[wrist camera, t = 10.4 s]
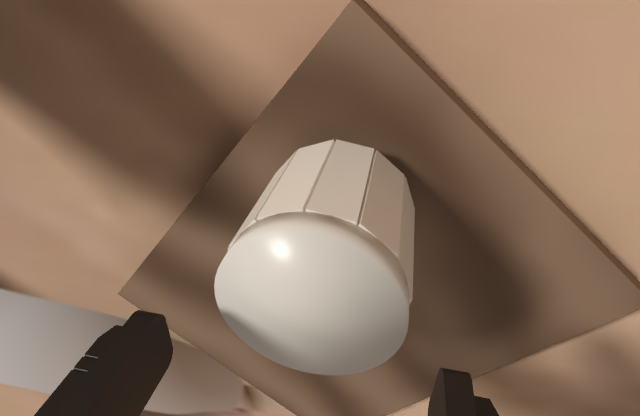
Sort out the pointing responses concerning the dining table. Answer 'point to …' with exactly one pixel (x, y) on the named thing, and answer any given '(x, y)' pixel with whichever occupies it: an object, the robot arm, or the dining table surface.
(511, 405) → the dining table surface
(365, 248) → the cap
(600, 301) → the post board
